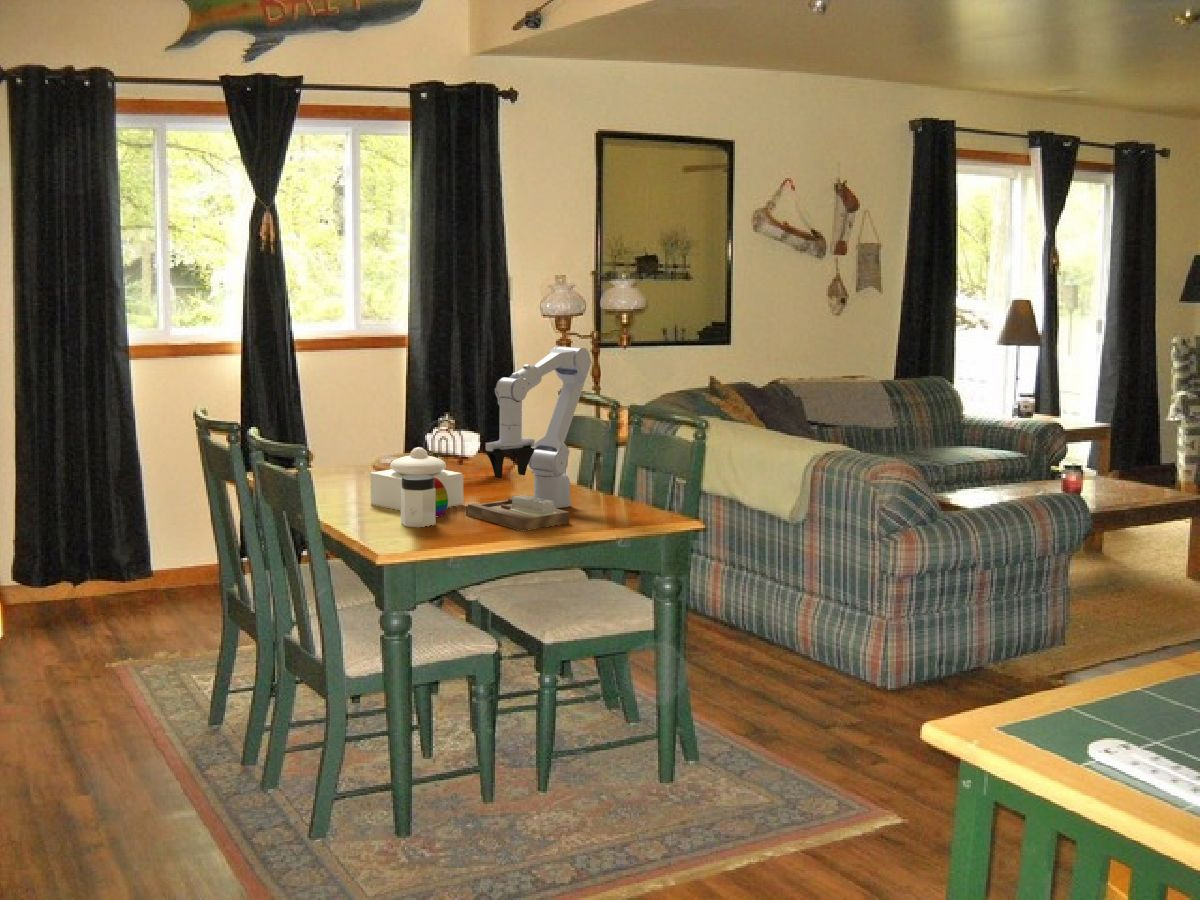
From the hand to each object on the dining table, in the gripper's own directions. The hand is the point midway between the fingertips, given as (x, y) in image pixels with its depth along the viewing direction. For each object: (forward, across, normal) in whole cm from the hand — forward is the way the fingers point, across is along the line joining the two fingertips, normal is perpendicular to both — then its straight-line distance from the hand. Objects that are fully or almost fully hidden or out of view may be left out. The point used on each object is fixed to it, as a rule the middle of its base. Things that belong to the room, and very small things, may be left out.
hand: (510, 476), depth 345 cm
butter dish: (+11, +12, -26) cm, 30 cm away
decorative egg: (+11, +16, -12) cm, 23 cm away
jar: (+11, +25, -5) cm, 28 cm away
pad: (+7, +2, +12) cm, 14 cm away
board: (+10, +1, +5) cm, 12 cm away
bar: (+7, +1, +11) cm, 13 cm away
